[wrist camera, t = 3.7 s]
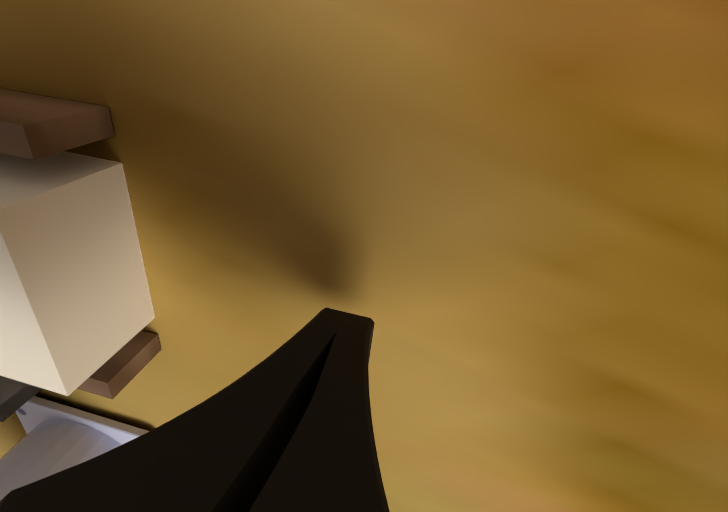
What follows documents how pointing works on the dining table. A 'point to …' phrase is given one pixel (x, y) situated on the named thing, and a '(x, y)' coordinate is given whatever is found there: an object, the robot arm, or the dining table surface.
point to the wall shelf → (43, 138)
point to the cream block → (67, 269)
